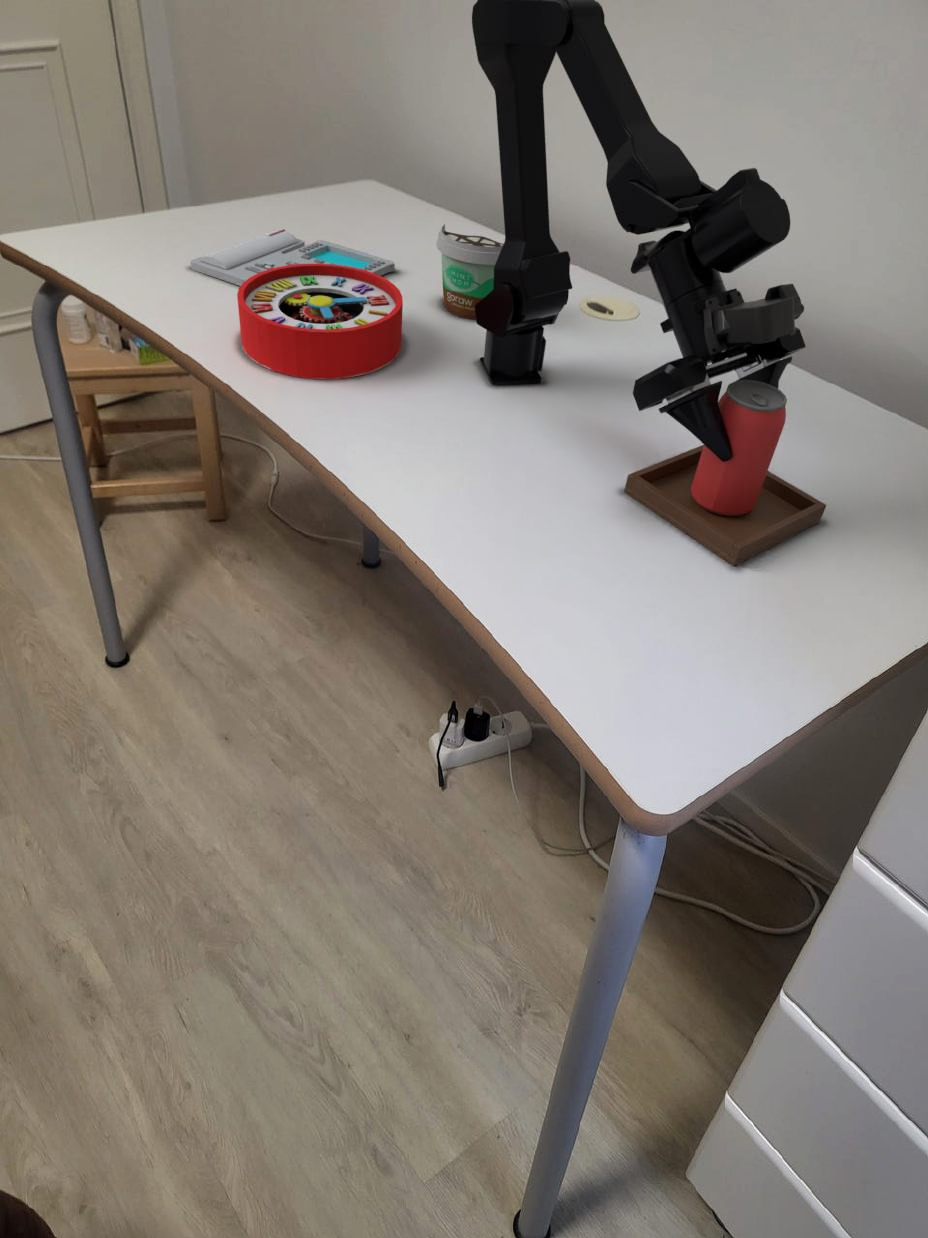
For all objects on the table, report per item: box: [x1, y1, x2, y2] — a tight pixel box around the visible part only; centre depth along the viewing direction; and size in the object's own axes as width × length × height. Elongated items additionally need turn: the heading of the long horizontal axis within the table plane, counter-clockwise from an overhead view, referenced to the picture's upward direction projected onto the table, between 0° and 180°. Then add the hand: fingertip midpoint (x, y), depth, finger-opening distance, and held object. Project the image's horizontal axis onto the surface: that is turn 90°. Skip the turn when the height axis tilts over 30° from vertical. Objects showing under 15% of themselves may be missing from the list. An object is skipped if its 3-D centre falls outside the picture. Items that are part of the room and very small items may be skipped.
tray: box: [623, 444, 827, 567], centre depth 89 cm, size 15×14×2 cm
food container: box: [435, 223, 504, 321], centre depth 119 cm, size 12×6×10 cm, turn 68°
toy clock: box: [236, 263, 404, 380], centre depth 110 cm, size 20×6×20 cm
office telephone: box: [189, 228, 396, 287], centre depth 128 cm, size 23×3×20 cm
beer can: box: [691, 379, 788, 516], centre depth 86 cm, size 7×7×12 cm
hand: (751, 450), depth 85 cm, fingers closed on beer can, 6 cm apart
